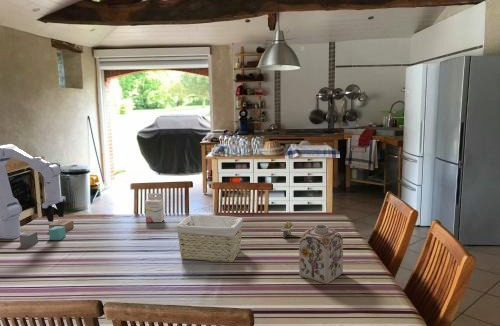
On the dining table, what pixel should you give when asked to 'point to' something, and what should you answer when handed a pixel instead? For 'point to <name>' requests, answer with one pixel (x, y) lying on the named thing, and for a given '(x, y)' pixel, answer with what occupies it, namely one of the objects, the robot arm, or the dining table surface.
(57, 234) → the teal cube
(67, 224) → the base block
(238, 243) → the storage basket
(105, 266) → the dining table surface
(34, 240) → the gray cube
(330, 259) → the decorative jar
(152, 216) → the ink cartridge box
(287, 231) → the small potted plant
